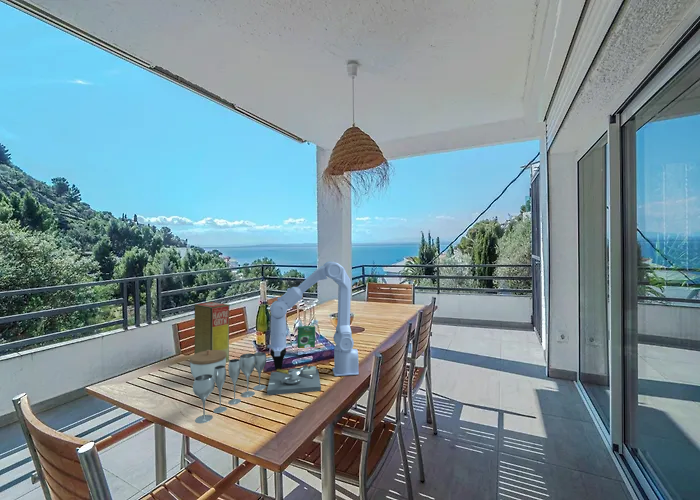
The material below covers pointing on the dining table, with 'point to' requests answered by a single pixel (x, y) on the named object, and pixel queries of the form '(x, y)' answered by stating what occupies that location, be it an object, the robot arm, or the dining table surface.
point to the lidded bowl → (207, 362)
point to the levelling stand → (303, 386)
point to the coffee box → (306, 336)
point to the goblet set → (246, 363)
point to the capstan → (294, 375)
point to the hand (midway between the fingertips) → (278, 369)
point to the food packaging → (212, 327)
